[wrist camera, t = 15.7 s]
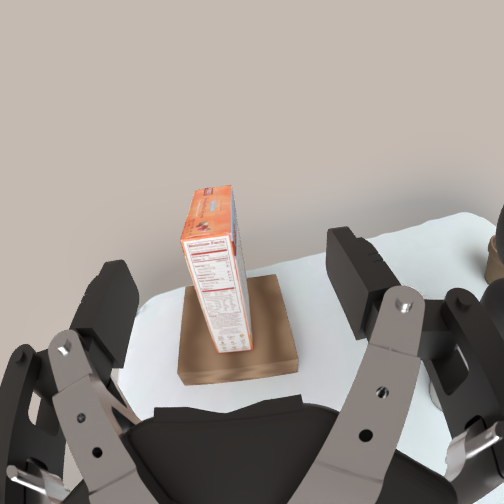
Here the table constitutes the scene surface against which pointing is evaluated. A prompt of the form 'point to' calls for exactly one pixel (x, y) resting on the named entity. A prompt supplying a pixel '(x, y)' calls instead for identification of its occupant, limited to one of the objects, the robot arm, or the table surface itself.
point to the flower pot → (493, 263)
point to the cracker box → (218, 268)
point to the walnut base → (243, 362)
